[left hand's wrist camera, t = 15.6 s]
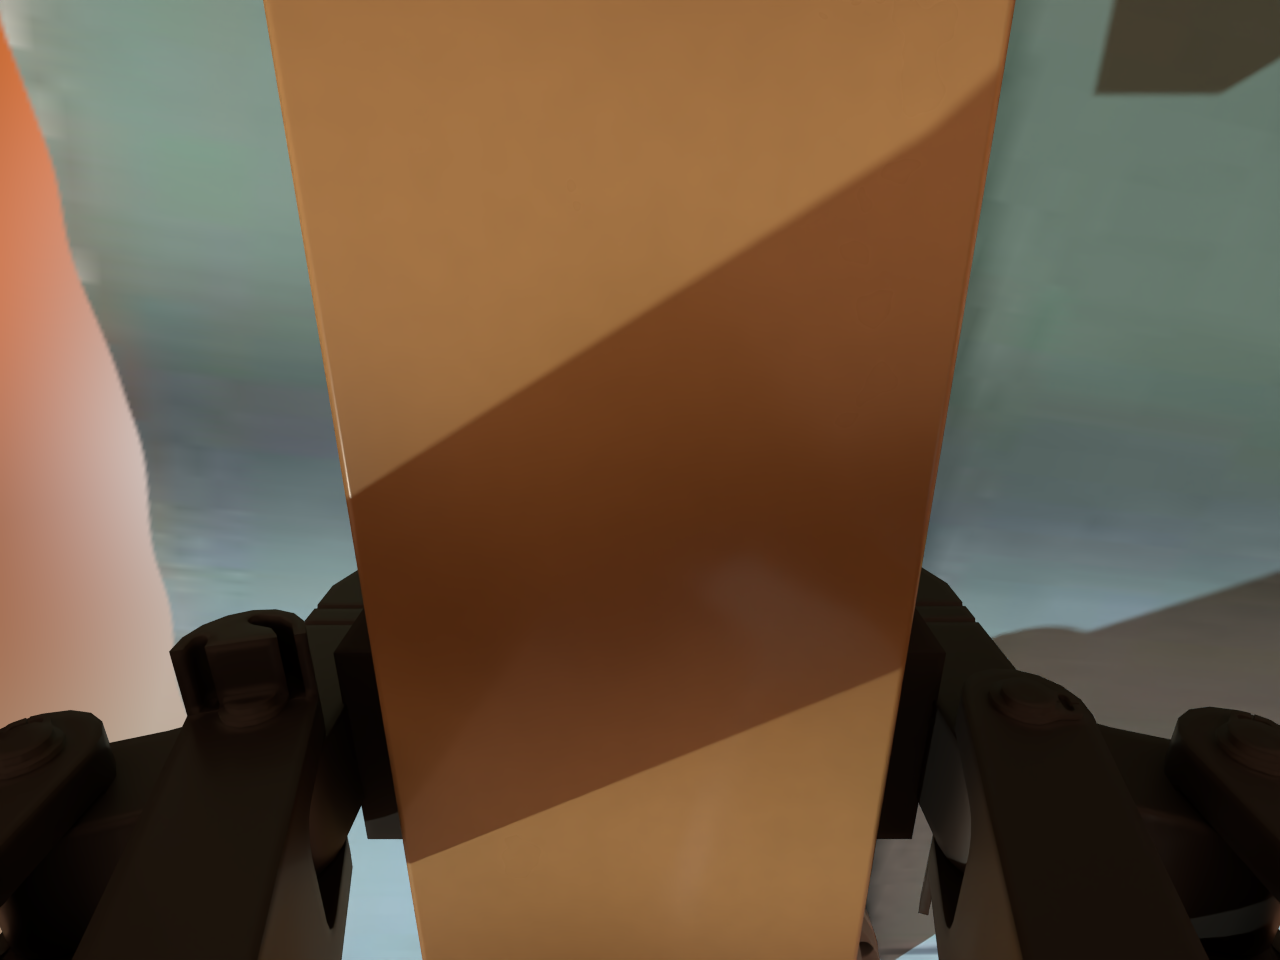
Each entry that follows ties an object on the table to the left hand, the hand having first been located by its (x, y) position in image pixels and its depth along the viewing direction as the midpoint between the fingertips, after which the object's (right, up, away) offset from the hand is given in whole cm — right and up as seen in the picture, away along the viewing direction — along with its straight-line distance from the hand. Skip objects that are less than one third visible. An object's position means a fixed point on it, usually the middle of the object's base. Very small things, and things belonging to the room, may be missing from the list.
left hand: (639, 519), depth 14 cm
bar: (0, +9, -3) cm, 9 cm away
